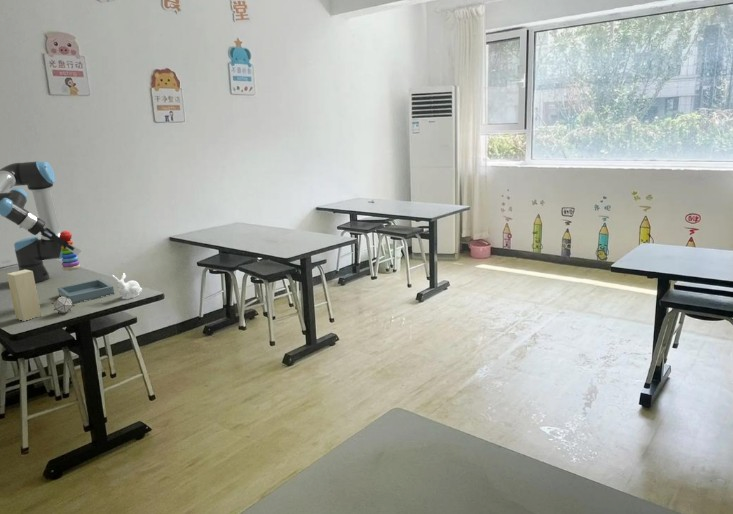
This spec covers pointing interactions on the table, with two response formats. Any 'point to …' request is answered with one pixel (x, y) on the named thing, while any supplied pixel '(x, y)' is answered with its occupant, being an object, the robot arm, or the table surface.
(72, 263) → the stacking toy
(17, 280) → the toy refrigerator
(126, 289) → the rabbit
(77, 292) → the tray
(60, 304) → the game die
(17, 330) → the table surface
